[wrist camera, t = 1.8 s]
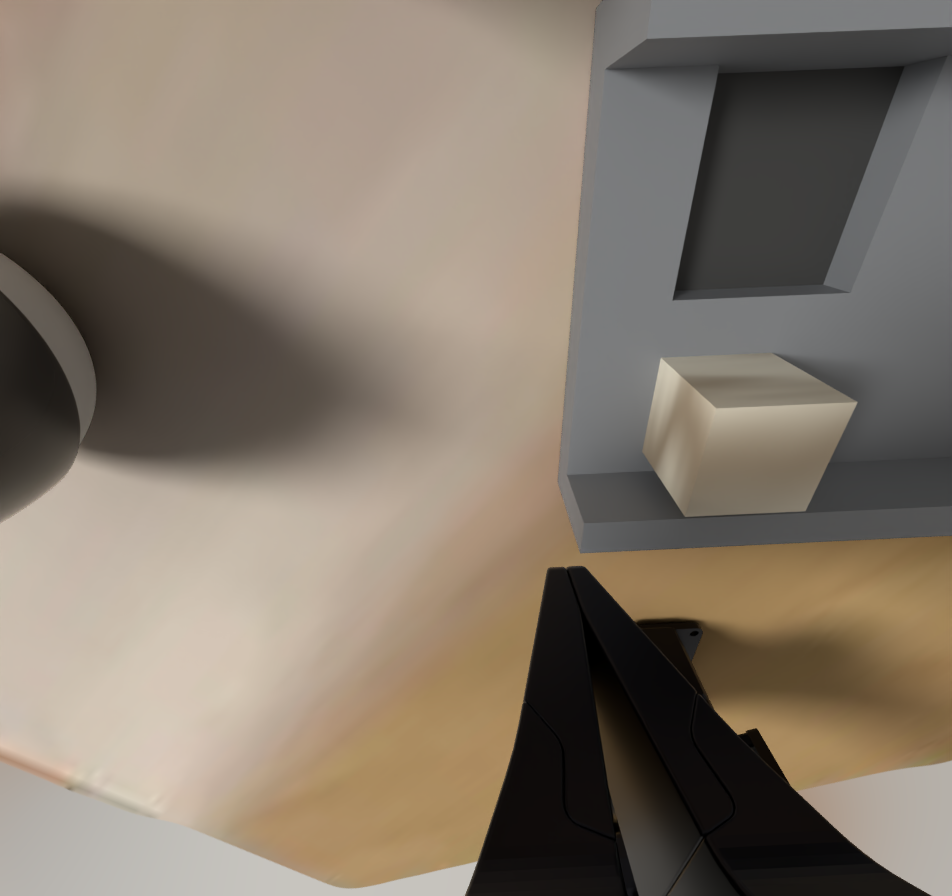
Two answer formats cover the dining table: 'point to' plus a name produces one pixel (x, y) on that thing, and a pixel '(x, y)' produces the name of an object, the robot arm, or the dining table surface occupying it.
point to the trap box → (766, 252)
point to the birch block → (742, 433)
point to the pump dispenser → (38, 390)
